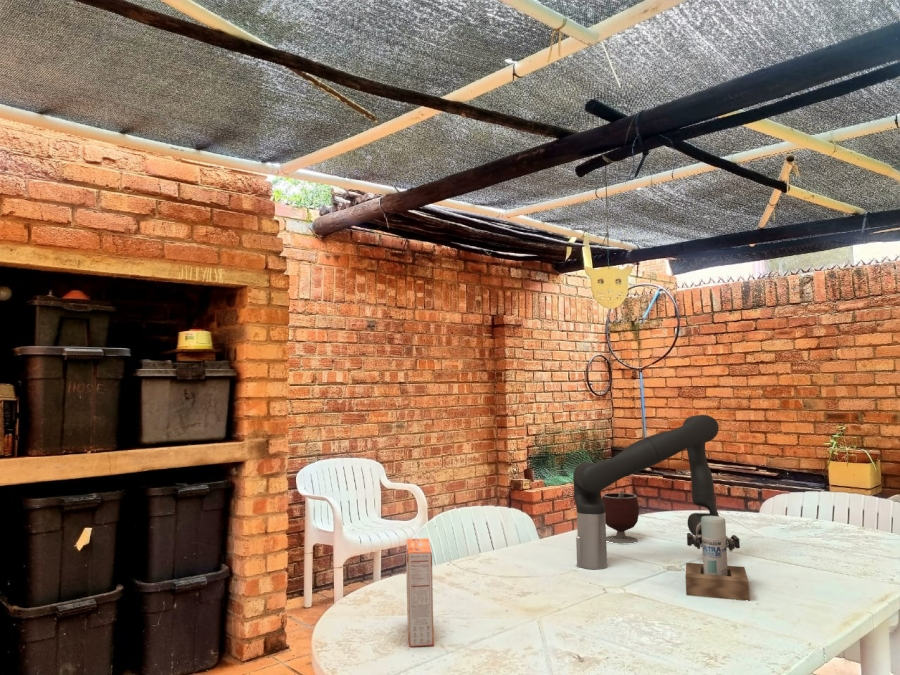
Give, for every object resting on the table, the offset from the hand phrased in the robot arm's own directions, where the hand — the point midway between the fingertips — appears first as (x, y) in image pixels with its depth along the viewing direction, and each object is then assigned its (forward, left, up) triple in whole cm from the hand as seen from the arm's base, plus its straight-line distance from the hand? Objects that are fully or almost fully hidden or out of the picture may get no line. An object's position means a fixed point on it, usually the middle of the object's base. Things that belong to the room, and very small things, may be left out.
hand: (714, 546), depth 181 cm
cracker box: (-66, -58, -13) cm, 89 cm away
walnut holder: (0, +2, -13) cm, 13 cm away
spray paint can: (0, +2, -13) cm, 13 cm away
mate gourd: (-32, +57, -13) cm, 67 cm away
